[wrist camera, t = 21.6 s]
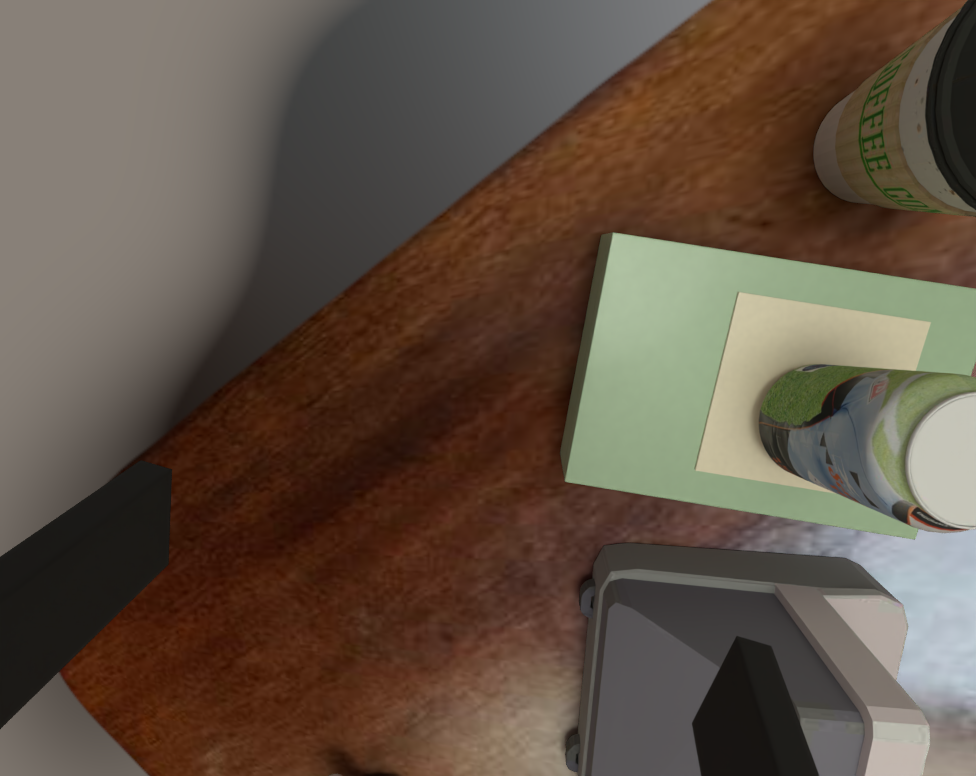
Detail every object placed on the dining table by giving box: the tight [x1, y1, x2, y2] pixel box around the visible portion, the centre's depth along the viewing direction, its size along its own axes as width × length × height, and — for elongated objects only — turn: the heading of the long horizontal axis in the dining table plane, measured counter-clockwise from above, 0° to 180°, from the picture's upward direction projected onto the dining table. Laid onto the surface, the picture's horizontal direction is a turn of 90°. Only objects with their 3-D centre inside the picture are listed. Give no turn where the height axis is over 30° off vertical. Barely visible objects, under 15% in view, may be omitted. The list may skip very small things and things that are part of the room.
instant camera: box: [565, 543, 930, 776], centre depth 36 cm, size 21×21×15 cm
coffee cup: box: [813, 0, 976, 217], centre depth 28 cm, size 10×10×15 cm
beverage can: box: [759, 364, 976, 533], centre depth 27 cm, size 6×7×12 cm
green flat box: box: [560, 233, 976, 539], centre depth 36 cm, size 14×20×5 cm
